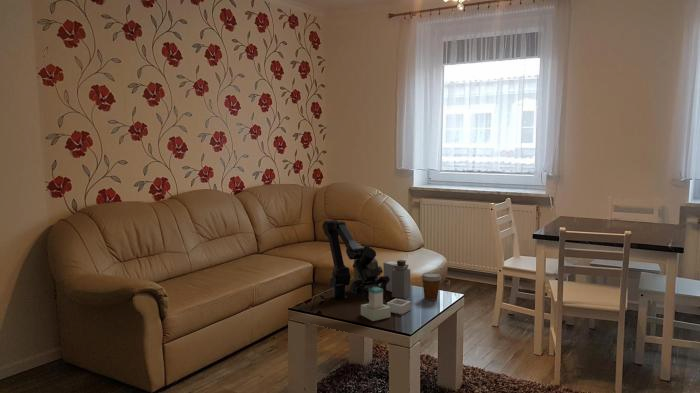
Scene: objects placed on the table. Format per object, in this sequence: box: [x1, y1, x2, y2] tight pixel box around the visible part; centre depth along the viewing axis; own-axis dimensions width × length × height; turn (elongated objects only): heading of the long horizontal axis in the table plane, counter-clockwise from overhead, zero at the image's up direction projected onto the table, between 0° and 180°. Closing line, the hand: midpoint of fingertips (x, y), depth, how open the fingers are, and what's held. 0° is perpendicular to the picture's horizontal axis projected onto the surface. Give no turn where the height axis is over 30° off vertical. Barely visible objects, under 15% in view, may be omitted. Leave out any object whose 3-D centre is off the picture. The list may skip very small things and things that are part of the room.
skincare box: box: [383, 260, 397, 293], centre depth 264 cm, size 8×6×15 cm
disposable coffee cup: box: [421, 272, 442, 301], centre depth 251 cm, size 10×10×12 cm
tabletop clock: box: [353, 243, 379, 289], centre depth 261 cm, size 14×9×25 cm, turn 15°
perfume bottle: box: [391, 259, 411, 300], centre depth 255 cm, size 7×7×18 cm
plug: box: [368, 286, 384, 309], centre depth 225 cm, size 5×5×12 cm
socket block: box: [360, 303, 392, 322], centre depth 226 cm, size 10×10×4 cm
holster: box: [386, 297, 412, 315], centre depth 233 cm, size 8×8×4 cm
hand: (377, 300), depth 224 cm, fingers open, 9 cm apart
